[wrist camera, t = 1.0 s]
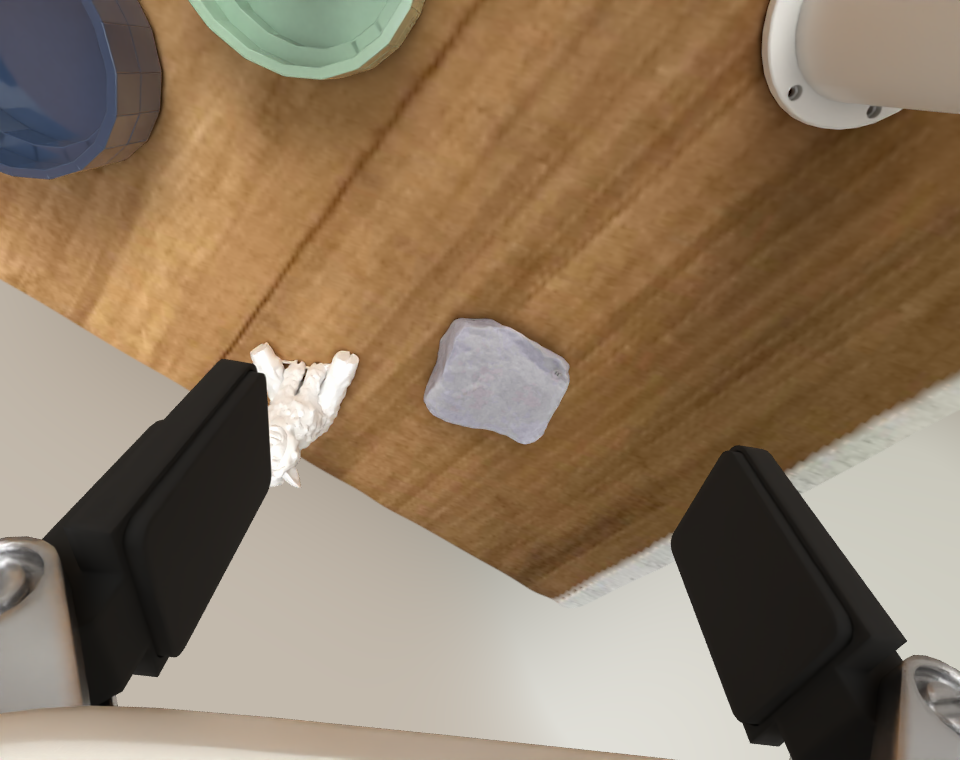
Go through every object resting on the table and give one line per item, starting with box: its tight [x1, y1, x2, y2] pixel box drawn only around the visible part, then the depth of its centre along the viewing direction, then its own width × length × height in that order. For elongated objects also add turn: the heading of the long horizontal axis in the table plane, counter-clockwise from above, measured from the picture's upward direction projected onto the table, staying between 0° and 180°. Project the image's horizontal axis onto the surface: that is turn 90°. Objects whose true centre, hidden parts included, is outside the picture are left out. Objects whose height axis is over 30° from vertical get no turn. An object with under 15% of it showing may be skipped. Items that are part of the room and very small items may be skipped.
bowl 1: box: [0, 0, 162, 180], centre depth 30 cm, size 15×15×5 cm
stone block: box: [424, 318, 570, 444], centre depth 43 cm, size 12×5×10 cm
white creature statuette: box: [250, 342, 359, 488], centre depth 41 cm, size 10×9×12 cm
